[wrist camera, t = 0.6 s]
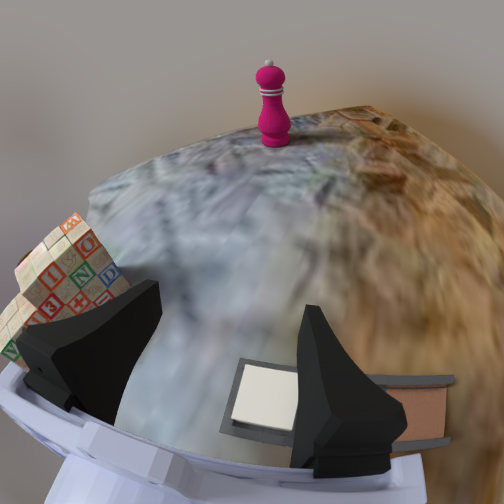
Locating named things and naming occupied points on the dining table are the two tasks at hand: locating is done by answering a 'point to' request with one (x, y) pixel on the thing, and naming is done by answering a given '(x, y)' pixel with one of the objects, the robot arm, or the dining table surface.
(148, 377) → the dining table surface
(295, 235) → the dining table surface
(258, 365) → the gray rectangular tray
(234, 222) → the dining table surface
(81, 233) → the stack of blocks
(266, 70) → the pepper mill
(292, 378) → the block
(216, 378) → the dining table surface
